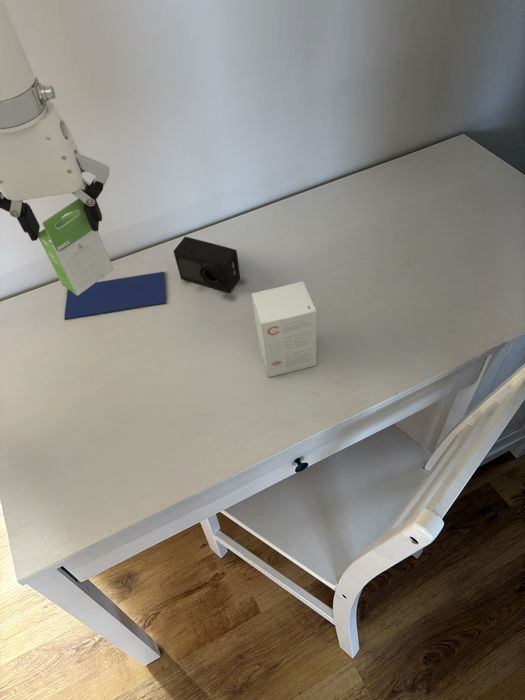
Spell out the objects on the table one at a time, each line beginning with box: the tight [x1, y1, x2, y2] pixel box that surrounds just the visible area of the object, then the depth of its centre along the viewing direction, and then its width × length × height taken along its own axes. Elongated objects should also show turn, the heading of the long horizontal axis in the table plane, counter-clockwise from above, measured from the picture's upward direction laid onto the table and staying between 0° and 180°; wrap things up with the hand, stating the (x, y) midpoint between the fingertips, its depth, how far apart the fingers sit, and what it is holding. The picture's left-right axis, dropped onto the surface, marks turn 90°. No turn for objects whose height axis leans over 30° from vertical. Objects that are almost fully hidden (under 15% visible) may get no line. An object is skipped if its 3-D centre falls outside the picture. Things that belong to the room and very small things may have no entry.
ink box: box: [37, 198, 114, 296], centre depth 75 cm, size 7×4×13 cm, turn 139°
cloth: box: [63, 271, 167, 321], centre depth 97 cm, size 18×8×1 cm, turn 98°
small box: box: [251, 280, 318, 378], centre depth 81 cm, size 8×6×13 cm
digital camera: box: [173, 236, 241, 294], centre depth 95 cm, size 10×5×7 cm, turn 65°
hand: (66, 228), depth 73 cm, fingers closed on ink box, 7 cm apart
